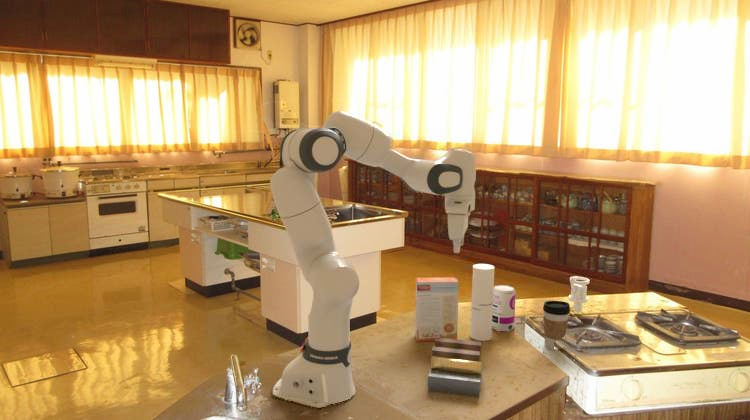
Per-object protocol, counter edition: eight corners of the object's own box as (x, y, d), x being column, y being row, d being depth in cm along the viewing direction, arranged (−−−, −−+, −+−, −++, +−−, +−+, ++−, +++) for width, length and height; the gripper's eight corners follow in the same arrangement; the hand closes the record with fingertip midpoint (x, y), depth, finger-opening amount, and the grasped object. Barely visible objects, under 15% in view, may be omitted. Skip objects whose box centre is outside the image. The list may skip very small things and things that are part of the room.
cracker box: (454, 334, 190) (456, 276, 186) (457, 341, 184) (459, 281, 180) (414, 334, 189) (415, 276, 186) (416, 341, 183) (417, 281, 180)
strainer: (564, 311, 213) (566, 274, 211) (579, 309, 215) (582, 273, 213) (574, 317, 207) (577, 279, 204) (590, 316, 208) (593, 278, 206)
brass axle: (430, 371, 152) (431, 358, 152) (432, 367, 156) (432, 354, 156) (481, 377, 149) (481, 364, 149) (481, 372, 153) (482, 360, 152)
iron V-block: (427, 391, 150) (428, 375, 149) (433, 372, 160) (433, 358, 160) (479, 397, 146) (480, 382, 146) (481, 378, 157) (482, 363, 156)
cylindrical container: (491, 341, 183) (494, 270, 179) (470, 339, 185) (472, 268, 181) (491, 333, 190) (494, 264, 186) (470, 332, 192) (473, 263, 188)
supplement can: (516, 326, 197) (518, 287, 194) (509, 334, 190) (511, 293, 187) (495, 322, 201) (497, 283, 199) (487, 329, 194) (488, 289, 192)
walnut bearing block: (431, 369, 163) (431, 350, 162) (435, 355, 173) (436, 337, 172) (478, 374, 160) (479, 355, 159) (480, 360, 169) (481, 342, 168)
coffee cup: (564, 353, 174) (567, 309, 172) (537, 348, 179) (540, 304, 176) (570, 344, 181) (573, 301, 179) (544, 339, 186) (547, 297, 183)
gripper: (453, 198, 172) (452, 240, 175) (444, 208, 153) (443, 256, 155) (473, 199, 171) (472, 242, 173) (467, 209, 151) (465, 257, 153)
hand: (458, 248), depth 164 cm, fingers open, 8 cm apart
